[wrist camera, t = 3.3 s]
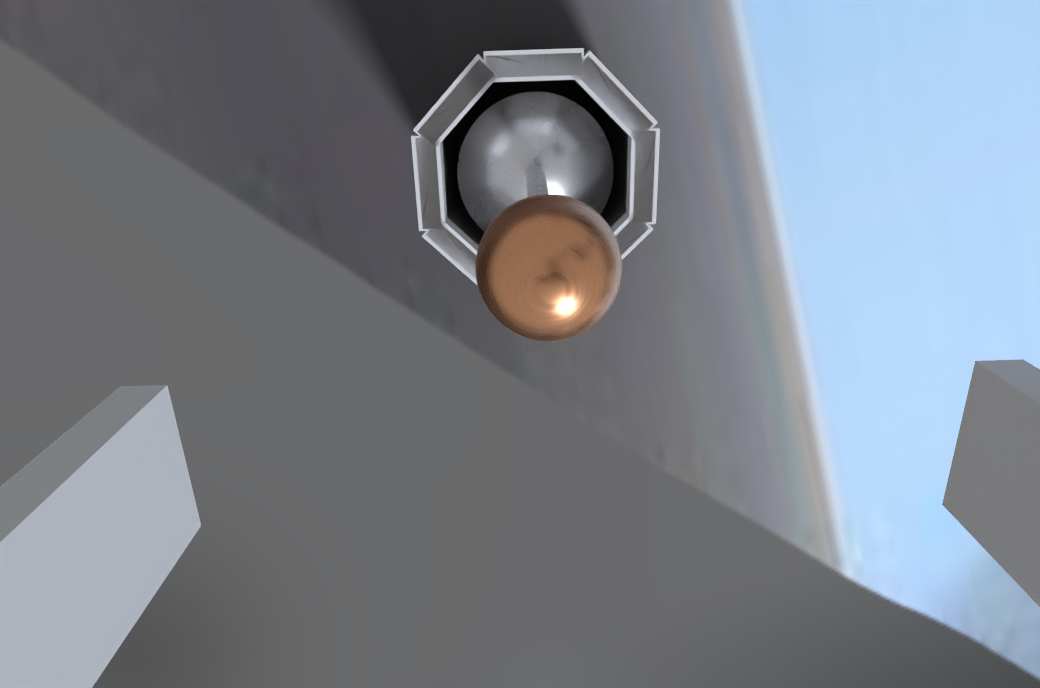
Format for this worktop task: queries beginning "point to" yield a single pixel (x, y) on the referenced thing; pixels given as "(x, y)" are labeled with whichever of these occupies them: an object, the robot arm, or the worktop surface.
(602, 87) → the grey octagonal tube
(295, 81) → the worktop surface
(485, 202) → the copper ball knob
